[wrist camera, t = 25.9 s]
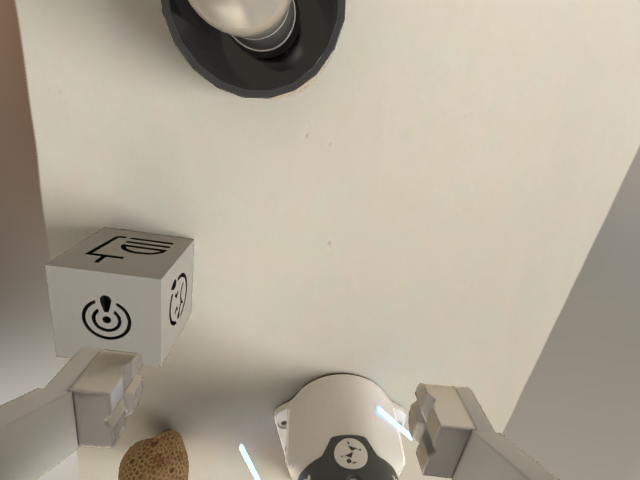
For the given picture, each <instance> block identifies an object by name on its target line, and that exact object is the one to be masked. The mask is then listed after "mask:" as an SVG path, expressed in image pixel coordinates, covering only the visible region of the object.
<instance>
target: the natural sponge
mask: <svg viewBox="0 0 640 480" xmlns="http://www.w3.org/2000/svg"><path fill="white" fill-rule="evenodd" d="M188 473H189V462H188V456H187V452H186V449H185V446H184V443H183V440H182V437H181V435H180V434H179V433H178V432H176V431H171V430H170V431H166V432H163V433H161V434H159V435H157V436H156V437H154V438H150V439H145V440H141V441H139V442H137V443H135V444H134V445H133V446H131V447H130V448H129V450H128V451H127V452H126V453H125V455H124V456H123V458H122V460H121V463H120V467H119V476H118V480H188Z"/></svg>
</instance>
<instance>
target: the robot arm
mask: <svg viewBox="0 0 640 480" xmlns="http://www.w3.org/2000/svg"><path fill="white" fill-rule="evenodd" d="M142 365H143V363H142V355H141V354H140V353H133V352H125V351H117V350H110V349H99V348H91V347H84V348H82V349H80V350H79V351H78V352H77V353H76V354H75V355H74V357H73V358H72V359H71V360H70V361H69V362H68V363H67V364H66V365H65V366H64V367H63V369H62V370H61V371H60V372H59V373H58V374H57V375H56V376H55V377H54V378H53V379H52V380H51V382H49V384H48V385H47V386H46V387H45V388H44V389H40V388H37V389H35V390H33V391H31V392H29V393H27V394H24V395H22V396H20V397H18V398H16V399H14V400H12V401H10V402H7V403H5V404H3V405H1V406H0V480H37V479H39V478H40V477H41V476H43V475H44V474H45V473H46V472H48V471H49V470H51V469H52V468H53V467H55V466H56V465H57V464H59V463H60V462H61V461H62V460H64V459H65V458H66V457H68V456H69V455H70V454H72V453H73V452H74V451H76V450H77V449H78V446H79V447H97V448H114V446H115V444H116V442H117V441H118V439H119V437H120V435H121V434H122V432H123V430H124V428H125V427H126V425H125V418H126V417H127V416H129V415H131V414H132V413H133V412H134V411H135V409H136V407H137V405H138V403H139V400H140V397H141V394H142V388H143V377H142V376H141V375H140V373H139V370H140V369H141V367H142ZM415 395H416V398H417V401H416V402H414V403H413V404H412V405H411V408H410V411H409V421H408V424H409V431H410V433H409V432H408V431H407V430H405V429H404V428H403V425H404V423H405V420H406V413H405V410H404V409H403V408H402V407H401V406H399V405H397V404H396V403H394V402H392V401H391V400H390V399H389V398H388V397H387V396H386V394H385V393H384V391H383V390H382V389H381V388H380V387H379V386H378V385H376V384H375V383H373V382H372V381H370V380H368V379H365V378H363V377H360V376H355V375H348V374H337V375H330V376H325V377H322V378H319V379H317V380H314V381H312V382H311V383H309V384H307V385H306V386H305V387H303V388H302V389H301V390H300V391H299V392H298V393H297V395H296V396H295V397H294V398H293V399H292V400H291V401H289V402H287V403H285V404H283V405H281V406H279V407H278V408H276V409H275V411H274V419H275V423H276V427H277V430H278V434H279V437H280V441H281V445H282V448H283V452H284V455H285V462H286V466H288V469H289V473H290V477H291V480H398V476H399V475H400V473H401V472H402V467H403V466H404V465H405V456H404V451H403V446H402V441H401V436H400V432H402V433H403V434H404V435H406V436H407V437H408V438H409V439H410V440H413V441H414V442H415V443H416V444H417V445H418V448H417V451H416V455H417V458H418V461H419V465H420V468H421V471H422V474H423V475H428V476H437V477H445V478H452V480H559V479H558V478H556V477H555V476H554V475H553V474H551V473H550V472H549V471H547V470H546V469H545V468H544V467H542V466H541V465H540V464H539V463H538V462H536V461H535V460H534V459H532V458H531V457H530V456H529V455H527V454H526V453H525V452H524V451H522V450H521V449H520V448H519V447H517V446H516V445H515V444H514V443H512V442H511V441H510V440H509V439H507V438H506V437H505V436H504V435H502V434H501V433H496V432H495V431H494V429H493V427H492V425H491V424H490V422H489V420H488V418H487V416H486V415H485V413H484V411H483V409H482V408H481V406H480V404H479V402H478V401H477V399H476V397H475V395H474V394H473V392H472V390H471V389H469V388H468V387H456V386H452V387H451V386H442V385H432V384H422V383H420V384H419V385H418V386H417V389H416V392H415ZM239 449H240V451H241V453H242V455H243V457H244V459H245V461H246V463H247V465H248V467H249V469H250V471H251V473H252V475H253V477H254V479H255V480H260V478H259V476H258V474H257V472H256V470H255V468H254V466H253V464H252V462H251V460H250V458H249V456H248V454H247V452H246V450H245V448H244V446H243V444H240V447H239Z"/></svg>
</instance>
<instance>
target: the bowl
mask: <svg viewBox="0 0 640 480" xmlns="http://www.w3.org/2000/svg"><path fill="white" fill-rule="evenodd" d="M345 1H346V0H297V3H298V7H299V12H300V27H299V31H298V34H297V36H296V39H295V41H294V42H293V44H292V45H291V46H290V48H289V49H287V50H286V51H285V52H284V53H282V54H280V55H278V56H275V57H272V58H259V57H255V56H252V55H249V54H248V53H246V52H244V51H243V50H241V49H240V48H239V47H238V46H237V45H236V44H235V43H234V41H233V40H232V39H231V37H230V35H229V34H227V33H225V32H222V31H220V30H218V29H216V28H215V27H213V26H211V25H210V24H208V23H207V22H206V21H205V20H204V19H203V18H202V17H200V16H199V15H198V13H197V12H196V11H195V10H194V8H193V7H192V6H191V5H190V3H189V1H188V0H161V3H162V12H163V14H164V17H165V20H166V22H167V25H168V27H169V30H170V33H171V35H172V38H173V40H174V43H175V45H176V46H177V47H178V49H179V50H180V51H181V53H182V54H183V56H184V57H185V58H186V60H187V61H188V62H189V64H190V65H191V66H192V68H193V69H194V70H195V71H196V72H198V73H199V74H200V75H202V76H203V77H204V78H205V79H207V80H208V81H209V82H211V83H212V84H213V85H214V86H216V87H217V88H219V89H222V90H225V91H227V92H230V93H233V94H235V95H238V96H241V97H244V98H271V99H279V98H282V97H286V96H289V95H292V94H295V93H298V92H300V91H301V90H302V89H304V88H305V87H307V86H308V85H309V84H310V83H312V82H313V81H315V80H316V79H317V77H318V76H319V74H320V73H321V72H322V70H323V69H324V67H325V66H326V65H327V63H328V62H329V60H330V58H331V56H332V54H333V52H334V50H335V47H336V44H337V41H338V38H339V35H340V32H341V29H342V26H343V23H344V19H345Z"/></svg>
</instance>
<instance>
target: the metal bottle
mask: <svg viewBox="0 0 640 480" xmlns="http://www.w3.org/2000/svg"><path fill="white" fill-rule="evenodd" d="M188 1H189V3H190V5H191V6H192V7H193V8H194V10H195V11H196V12H197V13H198V15H199V16H200V17H202V18H203V19H204V20H205V21H206V22H207V23H208V24H210V25H211V26H213V27H215V28H216V29H218V30H220V31H222V32H225V33H227V34H229V35H230V37H231V39H232V40H233V41H234V43H235V44H236V45H237V46H238V47H239V48H240V49H241V50H243V51H244V52H246V53H248V54H249V55H252V56H255V57H259V58H272V57H275V56H278V55H280V54H282V53H284V52H285V51H286V50H287V49H289V48H290V46H291V45H292V44H293V42H294V41H295V39H296V36H297V34H298V31H299V27H300V12H299V7H298V3H297V0H188Z"/></svg>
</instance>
